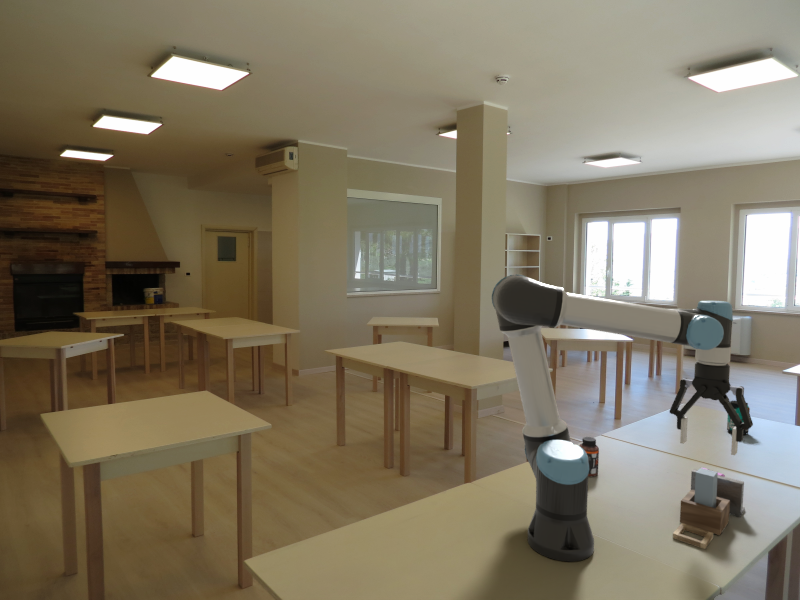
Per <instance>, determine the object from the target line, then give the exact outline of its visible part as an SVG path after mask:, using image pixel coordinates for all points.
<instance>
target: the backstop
mask: <svg viewBox="0 0 800 600" xmlns="http://www.w3.org/2000/svg"><path fill="white" fill-rule="evenodd" d="M697 470H698V469H695V468H694V469H692V470H691V475H690V476H691V479H690V490H695V478H696V471H697ZM744 485H745V482H744V481H743V480H739V479H735V478H731V477H727V476H725V477H723V476H719V475H718V476H717V496H716V497H720V498H724V499H727V500H730V509H729V515H732V516H736V517H739V518H741V517H742V515H743V514H744V512H745V511H746V509H745V507H744V506H743V505H744V504H743V503H744V487H745V486H744Z"/></svg>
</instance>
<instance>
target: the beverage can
mask: <svg viewBox="0 0 800 600" xmlns="http://www.w3.org/2000/svg"><path fill="white" fill-rule="evenodd" d="M729 401H730V403H731V404H732V406H733V408H734V409H735V411H736V412H737V414H738V416H739V417H740V419H741V420H742V422H743V419H742V416H741V413H740V410H739V406H738V403H737V400H729ZM746 404H747V407H748V410H749V413H750V410H751V408H750V407H749V403H748V402H746ZM743 423H744V422H743ZM734 427H735V425H734V423H733V421H732V420H731V418H730V417H729V415H728V414H727V422H726V431H728V433H730V434H732V429H733V428H734ZM749 429H750V428H749ZM749 429H747V428H746V429H744V430H743V436H746V435H747V434H749V431H750V430H749Z"/></svg>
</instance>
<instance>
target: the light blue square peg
mask: <svg viewBox="0 0 800 600" xmlns="http://www.w3.org/2000/svg"><path fill="white" fill-rule="evenodd" d="M703 468H704V467H699V468H698V469H696V470H697V471H696V478H695V499H694V502H696V503H699V504H702V505H706V506H709V507H713V508H716V496H717V476H718V473H719V472H718V471H714V470H710V469H709V470H707V469H708V468H706V469H703Z"/></svg>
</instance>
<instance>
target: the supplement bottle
mask: <svg viewBox="0 0 800 600" xmlns="http://www.w3.org/2000/svg"><path fill="white" fill-rule="evenodd" d="M581 442H582V443H580V444H579V446H580V447H581V448H583V449H584V450H585V452H586V453H587V456H588V463H589V473H588V478H589V477H590V478H591V477H596V476H598V475H599V459H600V458H599V455H600V449H599V446H598V445H597V439H596V438H594V437H591V436H584V437H582V440H581Z"/></svg>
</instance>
